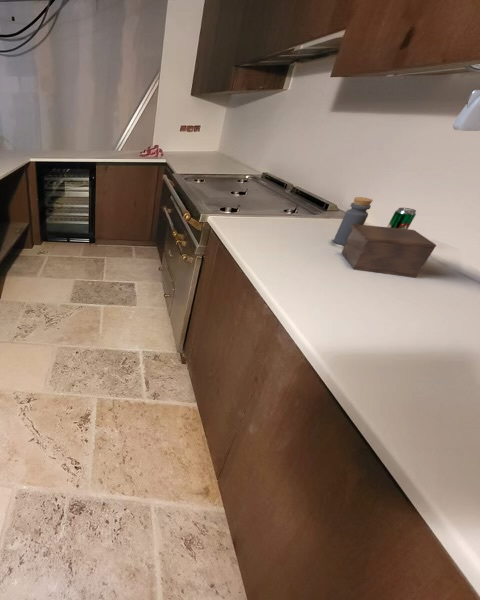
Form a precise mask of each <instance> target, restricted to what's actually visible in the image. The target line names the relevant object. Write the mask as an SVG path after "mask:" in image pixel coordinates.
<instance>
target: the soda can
mask: <svg viewBox="0 0 480 600" xmlns="http://www.w3.org/2000/svg"><path fill="white" fill-rule="evenodd" d="M416 212H417V210H416V209H414V208H409V207H398V209H396V210H395V211H394V213H393V215H392V217H391V218H390V219H389V223H388V224H387V226H386V227H389V228H400V229H409V228H410V227H411V224H412V222H413V221H414V219H415V217H416V214H417V213H416Z"/></svg>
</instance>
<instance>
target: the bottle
mask: <svg viewBox="0 0 480 600" xmlns="http://www.w3.org/2000/svg"><path fill="white" fill-rule="evenodd" d="M373 201H374V200H373V199H372V198H368V197H363V196H355V197H354V199H353V202H351V203H350V207H351V208H350V209H347V210H346V211H345V214H344V216H343V218H342V220H341V223H340V225H339V227H338V229H337V232H336V233H335V236H334V238H333V242H334V243H335V244H337V245H341V246H345V244H346V241H347V239H348V237H349V235H350V233H351V231H352V229H353V228H352V227H351V224H358V225H365V223H366V221H367V218H368V216H369V212H367V211H368V210H370V209H371V207H372V206H371V204H372V202H373Z"/></svg>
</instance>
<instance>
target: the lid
mask: <svg viewBox="0 0 480 600" xmlns="http://www.w3.org/2000/svg"><path fill="white" fill-rule="evenodd" d="M351 227H352V228H353V229H354V230H355V231H356V232H357V233H358V234H359V235H360V236H361V237H362V238H363V239H364V240H367V241H376V242H385V243H395V244H404V245H413V246H422V247H431V248H434V249H435V248H436V247H437V244H436V243H434V241H433V242H432V241H431V240H430V239H428V238H426V236H424V235H422V234H421V233H420V232H419V231H417V230H415V229H409V228H408V229H400V228H389V227H387V226H380V225H379V226H378V225H366V224H364V225H358V224H351Z"/></svg>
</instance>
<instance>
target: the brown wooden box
mask: <svg viewBox="0 0 480 600" xmlns="http://www.w3.org/2000/svg"><path fill="white" fill-rule="evenodd" d="M434 250H435V248H431V247H422V246H413V245H404V244H395V243H385V242H376V241H367V240H364V239H363V238H362V237H361V236H360V235H359V234H358V233H357V232H356V231H355V230H354V229H352V231H351V233H350V235H349V237H348V239H347V241H346V244H345V245H343V248H342V250H341V256H343V258H344V259H345V260H346V262H347V263H348V264H349V266H350V267H351V268H352V269H353V270H357V271H363V272H364V271H365V272H372V273H378V274H386V275H393V276H400V277H402V276H403V277H409V278H414V279H416V278H417V277H418V275H419V274H420V272H421V271H422V269H423V267H424V266H425V264H426V262H427V261H428V260H429V258H430V256H431V255H432V253H433V252H434Z"/></svg>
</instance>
